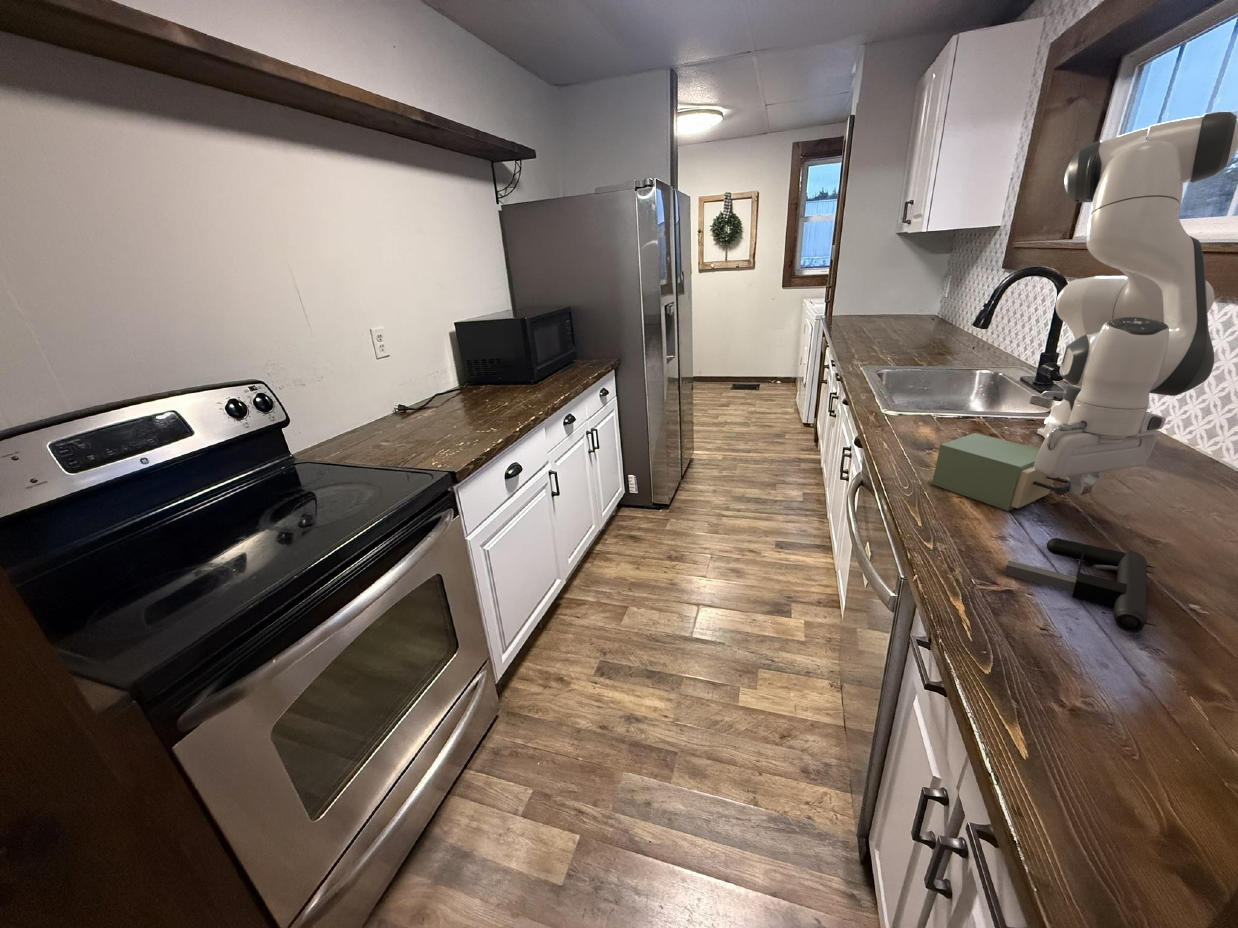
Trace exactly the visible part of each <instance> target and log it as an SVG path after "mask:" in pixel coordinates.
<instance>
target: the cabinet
mask: <svg viewBox="0 0 1238 928" xmlns="http://www.w3.org/2000/svg"><path fill="white" fill-rule="evenodd" d="M1039 450H1040V448H1039V447H1038V448H1037V447H1033V446H1030V445H1027V444H1022V443H1018V442H1013V441H1011V440H1010V441H1009V440H1006V439H1002V438H997V437H993V436H990V435H986V434H982V433H978V432H974V433H971V434H968V435H967V434H966V435H965V436H962V437H958V438H956V439H951V440H949V441H947V442H944V443H940V444H939V449H938V454H937V459H936V464H935V467H934V473H933V477H932V482H931V485H933V486H936V487H939V488H941V489H944V490H946V491H947V490H948V491H950V492H953V493H956V494H959V495H961V496H963V497H967V498H970V499H972V500H975V501H979V502H981V503H985V504H987V505H989V506H992V507H995V508H998V509H1001V510H1003V511H1006V512H1009V511H1011V510H1013V509H1015V507H1012V506H1011V504H1012V501H1013V497H1014V494H1015V490H1016V487H1017V483H1018V480H1019V477H1020V473H1021V470H1023V469H1025V468H1028V467H1030V466H1032V465H1034V463H1035V460H1036V458H1037V455H1038V453H1039Z"/></svg>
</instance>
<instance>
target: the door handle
mask: <svg viewBox="0 0 1238 928" xmlns="http://www.w3.org/2000/svg"><path fill="white" fill-rule="evenodd" d="M1046 549H1047V551H1048V552H1049V553H1050V554H1053V555H1056V556H1061V557H1065V558H1070V559H1074V560H1078V561H1079V562H1078V568H1077V572H1076V576H1072V575H1068V574H1065V573H1060V572H1056V571H1052V570H1047V569H1045V568H1040V567H1037V566H1033V565H1028V564H1025V563H1020V562H1016V561H1013V560H1008V561H1007V564H1006V566H1005V572H1004V575H1006V576H1009V577H1013V578H1017V579H1020V580H1024V581H1029V582H1032V583H1035V584H1040V585H1044V586H1047V587H1051V588H1054V589H1059V590H1062V591H1066V592H1070V593H1072V595H1071V598H1073V599H1076V600H1080V601H1083V602H1087V603H1089V604H1094V605H1098V606H1101V607H1105V608H1107V609H1108V608H1109V609H1112V610H1113V614H1112V616H1113V620H1114V622H1115V625H1116V626H1117V628H1119V629H1121V630H1122V631H1124V632H1127V633H1138V632H1141V631H1142V630H1143V629H1144V627H1145V626H1146V625H1149V626H1153V627H1156V626H1157V625H1156V624H1154V623H1150V622H1147V613H1148V612H1147V607H1148V606H1147V604H1148V602H1147V601H1148V600H1147V596H1148V595H1147V594H1148V592H1147V591H1148V589H1147V588H1148V586H1147V584H1148V573H1149V574H1154V575H1155V574H1156V573H1154V572H1151V571H1148V568H1153V569H1156V567H1155V566H1151V565H1148V561H1147V559H1146V557H1145V556H1144V555H1143V554H1141V553H1140V552H1137V551H1132V550H1131V551H1120V550H1116V549H1111V548H1106V547H1102V546H1096V545H1092V544H1087V543H1082V542H1078V541H1073V540H1069V539H1065V538H1064V539H1063V538H1060V537H1052V538H1051V539H1049V540H1048V541H1047V542H1046ZM1083 562H1087V563H1090V564H1093V565H1092V566H1091V568H1092V570H1096V571H1097V570H1104V571H1105V570H1106V571H1115V572H1117V573H1116V580H1114V579H1113V580H1112V579H1110V578H1109V579H1108V578H1104V577H1101V576H1096V575H1092V574H1088V573H1085V572H1084V573H1083V572H1081V569H1082V565H1083Z"/></svg>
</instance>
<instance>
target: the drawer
mask: <svg viewBox="0 0 1238 928" xmlns="http://www.w3.org/2000/svg"><path fill="white" fill-rule="evenodd" d="M1054 481H1055V482H1058V483H1062V485H1060V486H1058V487H1057V486H1054V485H1053V483H1054ZM1070 485H1071V482H1070V479H1065V478H1063V477H1060V478H1050V477H1048V476H1045V475H1042V474H1040V473H1038V472H1036V471H1035V468H1034V465H1032V466H1030V467H1028V468H1025V469H1024V470H1022V471H1021V473H1020V477H1019V480H1018V483H1017V487H1016V490H1015V494H1014V497H1013V501H1012V504H1011V506H1012V507H1015V508H1016V509H1020V508H1022V507H1024V506H1026V505H1028V504H1031V503H1033V502H1035V501H1037V500H1039V499H1041V498H1043V497H1045V496H1047V495H1049V494H1050V492H1051V491H1054V493H1055V494H1056V495H1057V496H1063V495H1064V494H1066V493H1068V492H1069V489H1070ZM1069 493H1070V492H1069ZM1015 508H1014V509H1015Z"/></svg>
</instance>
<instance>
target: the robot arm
mask: <svg viewBox="0 0 1238 928" xmlns="http://www.w3.org/2000/svg"><path fill="white" fill-rule="evenodd" d="M1237 151H1238V116H1237V115H1236V114H1234V113H1233V112H1232V111H1225V110H1224V111H1212V112H1205V113H1204V114H1203V115H1201V116H1193V117H1186V118H1181V119H1175V120H1170V121H1165V122H1161V123H1156V124H1152V125H1150V126H1148V127H1145V128H1140V129H1137V130H1133V131H1131V132H1127V133H1124V134H1120V135H1117V136H1115V137H1112V138H1109V139H1106V140H1103V141H1102V140H1097V141H1095V142H1092V143H1090V144H1088V145H1085V146H1083V147H1081V148H1080V149H1079V150H1078V151H1077V152H1075V154H1074V155H1073V156H1072V157H1071V160H1070V162H1069V163H1068V166H1067V168H1066V170H1065V173H1064V176H1063V177H1064V178H1063V182H1064V183H1063V185H1064V190H1065V191H1066V195H1067V197H1068V199H1069V200H1071V201H1073V202H1075V203H1091V206H1090V209H1089V214H1088V220H1087V225H1086V232H1085V233H1086V234H1085V244H1086V248H1087V251H1088V253H1089V254H1090V255H1091V256H1092V257H1094V259H1096V260H1097V261H1098V262H1100V263H1102V264H1103V265H1106V266H1108V267H1110V268H1111V267H1112V268H1113V269H1117V270H1119V271H1120V272H1121V273H1123V275H1097V276H1096V275H1095V276H1089V277H1082V278H1078V279H1077V278H1076V279H1074V280H1072V281H1070V282H1069V283H1067V284H1066V285H1065V286H1064V287H1063V288H1062V289H1061V291H1060V292H1059V293H1058V295H1057V297H1056V300H1055V312H1056V314H1057V317H1059V319H1060V320H1061V321H1062V322H1064V323H1065V324H1066V325H1067V327H1068V328H1069V329H1070V331H1071V333H1072V334H1073V337H1074V340H1073V341H1071V342H1070V343H1069V344H1068V345H1066V347H1065V350H1064V354H1063V357H1062V361H1061V364H1060V368H1059V372H1058V373H1059V375H1060V376H1061V378H1063V380H1064V381H1066V382H1067V384H1066V386H1065V388H1064V390H1063V395H1062V400H1061V401H1057V402H1056V403H1054V404H1053V406H1052V408H1051V411H1050V413H1049V415H1048V417H1046V418H1045V420H1044V422H1043V423H1044V424H1045V426H1044V427H1040V428H1037V431H1036V434H1037V435H1040V436H1043V438H1044V440H1043V442H1042V443H1041V446H1040V448H1039V449H1040V450H1039V453H1038V455H1037V458H1036V460H1035V463H1034V468H1035V471H1036V472H1038V473H1040V474H1042V475H1045V476H1048V477H1050V478H1065V477H1068V478H1069V479H1068V480H1069V481H1070V482H1071V485H1070V489H1069V493H1070V494H1072V495H1075V496H1081V495H1088V494H1092V493H1093V492H1094V490H1095V488H1096V485H1097V484H1098V483H1099V482H1100V481H1101V480H1102V479H1103V478H1104V477H1105V475H1106V472H1108V471H1114V470H1121V469H1122V470H1123V469H1129V468H1136V467H1142V466H1143V465H1144V464H1145V463H1146V462H1147V461H1148V460H1149V458H1150V456H1151V454H1152V452H1153V450H1154V447H1155V445H1156V443H1157V440H1158V437H1159V432H1158V430H1161V429H1163V428H1164V427H1165V424H1166V421H1167V418H1166V417H1165V416H1163V415H1159V414H1155V413H1153V412H1149V411H1148V408H1149V405H1150V394H1153V395H1161V396H1169V397H1175V396H1178V395H1181V394H1184V393H1186V392H1189V391H1191V390H1193V389H1195V388H1197V387H1199V386H1200V385H1202V384H1203V383H1205V382H1206V381H1207V380H1208V379H1209V378H1210V376H1211V374H1212V371H1213V369H1214V364H1215V350H1214V345H1213V342H1212V339H1211V334H1210V329H1209V315H1208V313H1209V312H1210V310H1211V309H1212V307H1213V305H1214V302H1215V291H1214V288H1213V286H1212V285H1211V283H1210V282H1209V281H1208V280H1207V279H1206V267H1205V258H1204V257H1205V256H1204V252H1203V251H1204V250H1203V247H1202V244H1201V242H1200V240H1199V239H1198V238H1195V237H1193V236H1191V235H1189V234H1188V233H1187V231H1186V230H1185V229H1184V227H1183V225H1182V223H1181V220H1180V212H1181V207H1182V200H1183V193H1184V184H1185V183H1191V184H1194V183H1197V182H1200V181H1203V180H1206V179H1209V178H1211V177H1214V176H1215V175H1217V174H1218V173H1219V172H1221V171H1222V170H1224V169H1225V168H1226V167H1227V166H1228V164H1229V162H1230V161H1231V160H1232V158H1233V157H1234V155H1235V154H1236V152H1237Z"/></svg>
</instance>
